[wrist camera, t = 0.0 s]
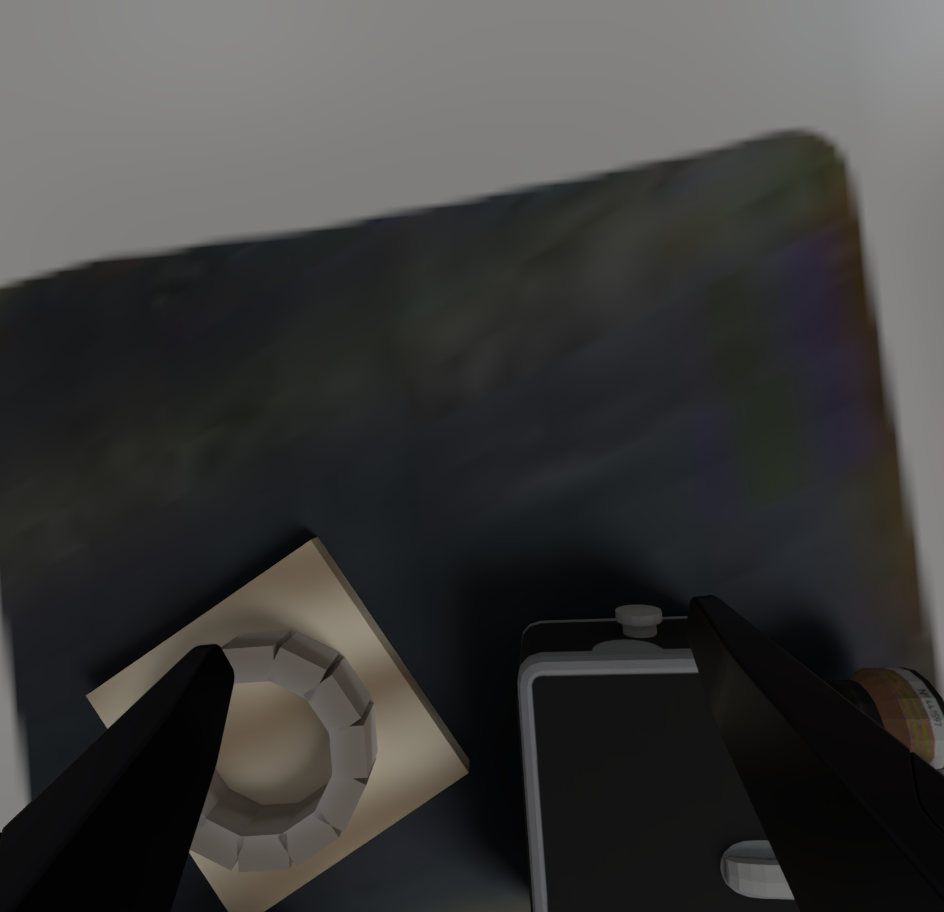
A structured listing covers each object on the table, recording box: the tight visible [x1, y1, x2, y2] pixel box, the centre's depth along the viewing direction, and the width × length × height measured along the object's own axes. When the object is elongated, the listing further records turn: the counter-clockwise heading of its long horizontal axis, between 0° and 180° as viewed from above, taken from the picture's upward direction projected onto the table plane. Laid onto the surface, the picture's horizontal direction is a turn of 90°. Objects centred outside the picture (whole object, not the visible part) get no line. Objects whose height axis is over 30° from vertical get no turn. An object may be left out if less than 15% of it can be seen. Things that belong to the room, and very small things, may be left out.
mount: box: [86, 537, 469, 912], centre depth 23 cm, size 13×13×3 cm
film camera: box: [516, 605, 944, 912], centre depth 21 cm, size 8×16×15 cm
